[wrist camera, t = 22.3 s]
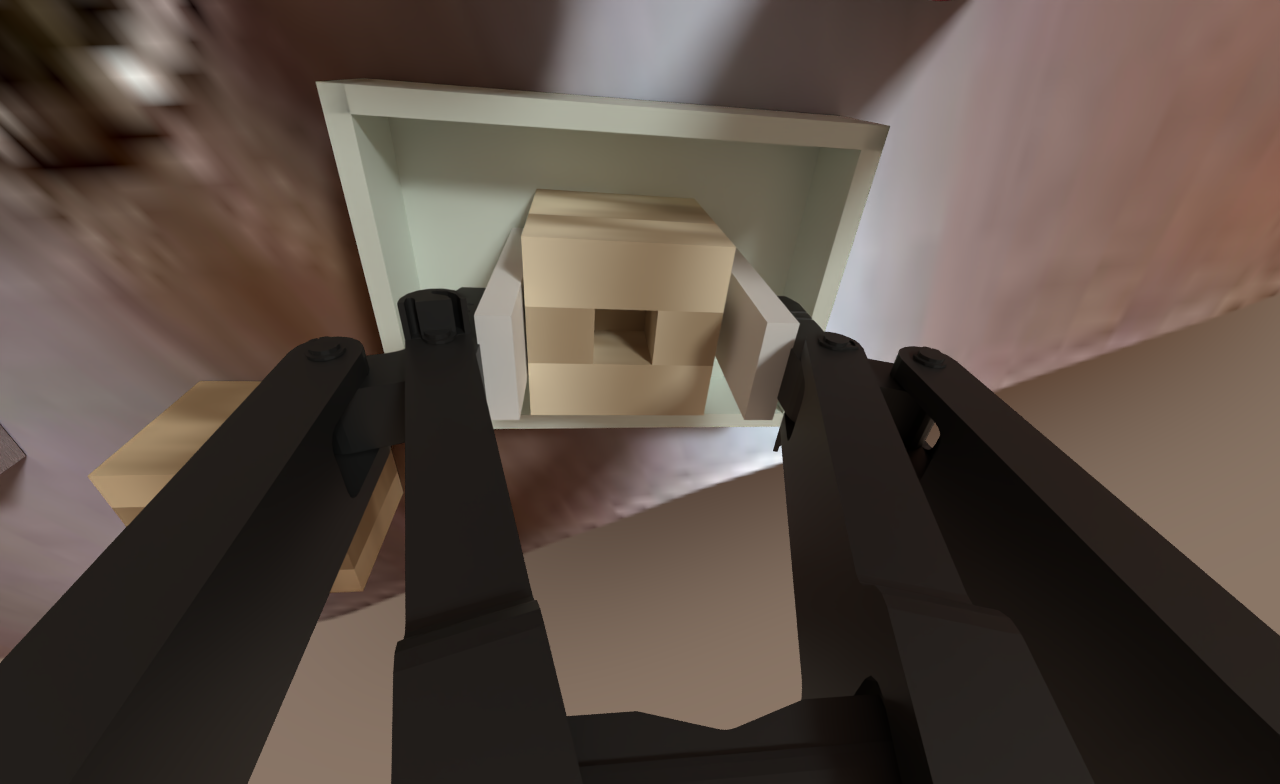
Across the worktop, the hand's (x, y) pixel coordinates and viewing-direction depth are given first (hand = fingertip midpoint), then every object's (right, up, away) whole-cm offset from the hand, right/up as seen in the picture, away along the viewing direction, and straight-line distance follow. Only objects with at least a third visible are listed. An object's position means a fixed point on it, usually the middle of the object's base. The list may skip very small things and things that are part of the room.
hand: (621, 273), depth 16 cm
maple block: (0, 0, 0) cm, 0 cm away
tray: (0, +1, +1) cm, 1 cm away
